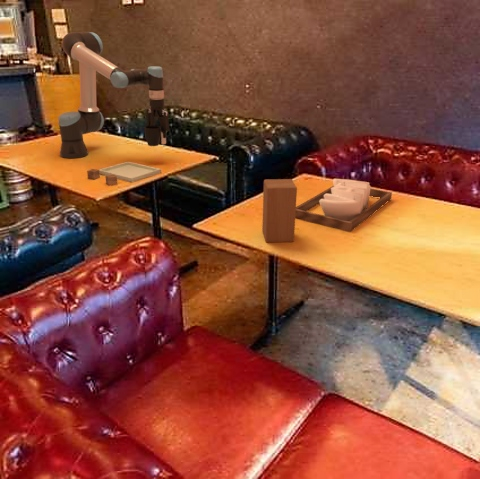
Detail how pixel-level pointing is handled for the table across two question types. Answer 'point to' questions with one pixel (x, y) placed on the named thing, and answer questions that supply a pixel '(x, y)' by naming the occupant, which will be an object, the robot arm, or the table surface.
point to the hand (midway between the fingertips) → (158, 142)
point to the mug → (153, 135)
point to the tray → (130, 171)
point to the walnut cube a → (93, 174)
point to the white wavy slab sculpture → (346, 199)
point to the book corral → (338, 223)
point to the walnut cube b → (111, 179)
